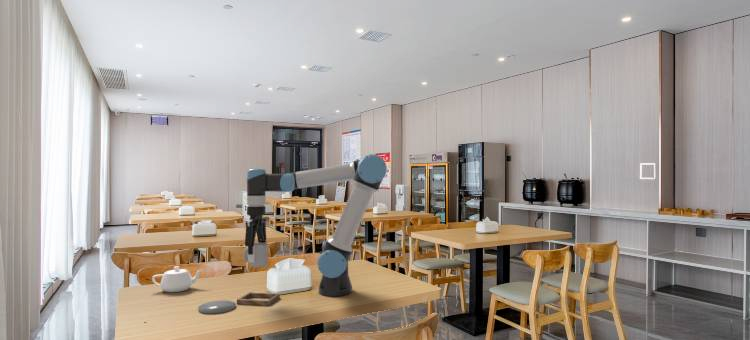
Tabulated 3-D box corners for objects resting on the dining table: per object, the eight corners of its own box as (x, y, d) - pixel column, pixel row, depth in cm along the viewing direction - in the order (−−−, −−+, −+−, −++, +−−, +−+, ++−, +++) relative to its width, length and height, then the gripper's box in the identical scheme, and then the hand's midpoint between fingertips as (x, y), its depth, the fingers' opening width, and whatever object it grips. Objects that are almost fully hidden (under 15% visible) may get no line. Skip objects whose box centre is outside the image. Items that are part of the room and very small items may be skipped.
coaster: (241, 303, 177) (241, 301, 177) (223, 314, 163) (223, 312, 163) (211, 302, 180) (211, 299, 180) (190, 312, 166) (190, 310, 166)
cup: (267, 266, 177) (267, 245, 177) (242, 267, 176) (242, 246, 176) (268, 263, 184) (268, 242, 185) (244, 264, 183) (244, 243, 183)
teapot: (149, 296, 189) (149, 271, 189) (154, 288, 202) (154, 265, 202) (202, 291, 196) (202, 267, 196) (204, 284, 209) (204, 261, 209)
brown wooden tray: (279, 298, 185) (279, 293, 185) (268, 305, 174) (268, 301, 174) (249, 296, 188) (249, 292, 188) (236, 304, 177) (236, 299, 177)
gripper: (259, 203, 191) (258, 255, 191) (235, 207, 172) (235, 264, 171) (274, 204, 190) (274, 256, 190) (253, 207, 170) (252, 265, 170)
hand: (255, 260), depth 181 cm, fingers closed on cup, 7 cm apart
